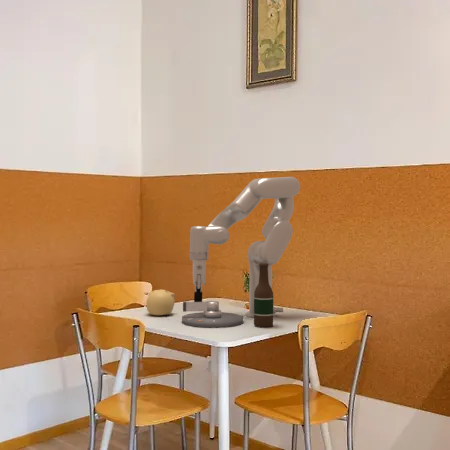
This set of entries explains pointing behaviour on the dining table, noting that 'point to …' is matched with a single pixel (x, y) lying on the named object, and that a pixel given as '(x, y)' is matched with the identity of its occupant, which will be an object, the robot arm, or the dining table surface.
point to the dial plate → (212, 320)
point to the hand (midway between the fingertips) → (198, 301)
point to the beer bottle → (263, 300)
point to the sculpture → (160, 302)
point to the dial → (204, 308)
